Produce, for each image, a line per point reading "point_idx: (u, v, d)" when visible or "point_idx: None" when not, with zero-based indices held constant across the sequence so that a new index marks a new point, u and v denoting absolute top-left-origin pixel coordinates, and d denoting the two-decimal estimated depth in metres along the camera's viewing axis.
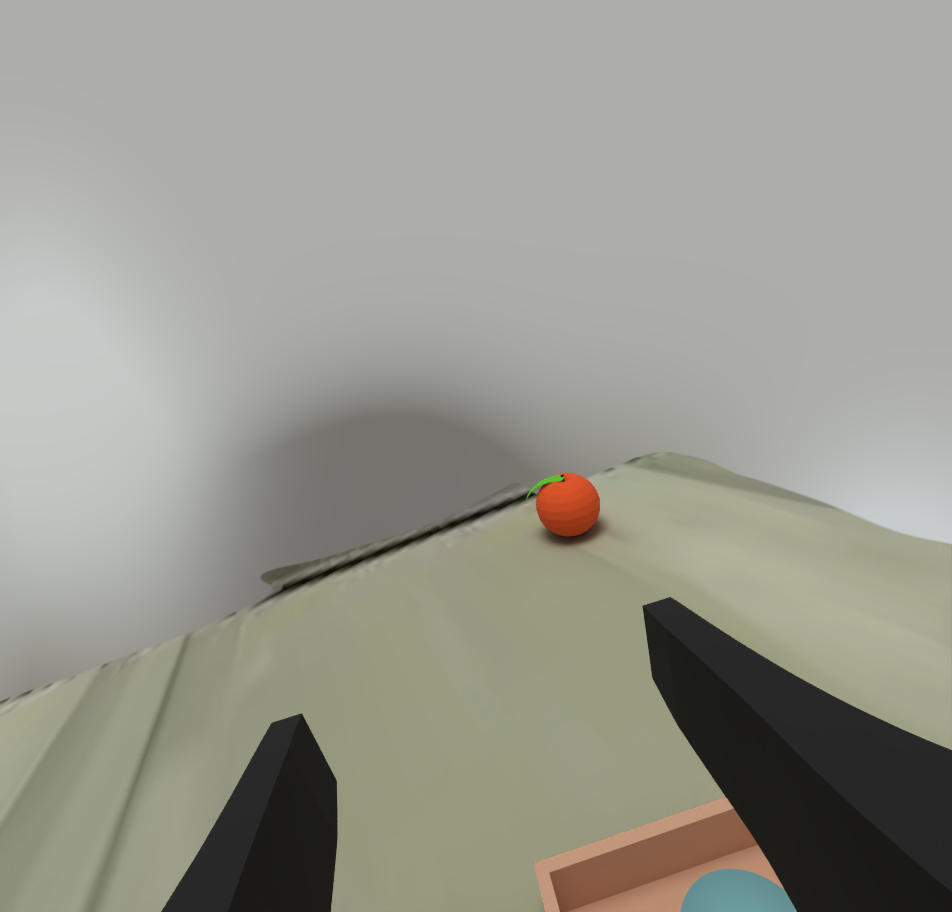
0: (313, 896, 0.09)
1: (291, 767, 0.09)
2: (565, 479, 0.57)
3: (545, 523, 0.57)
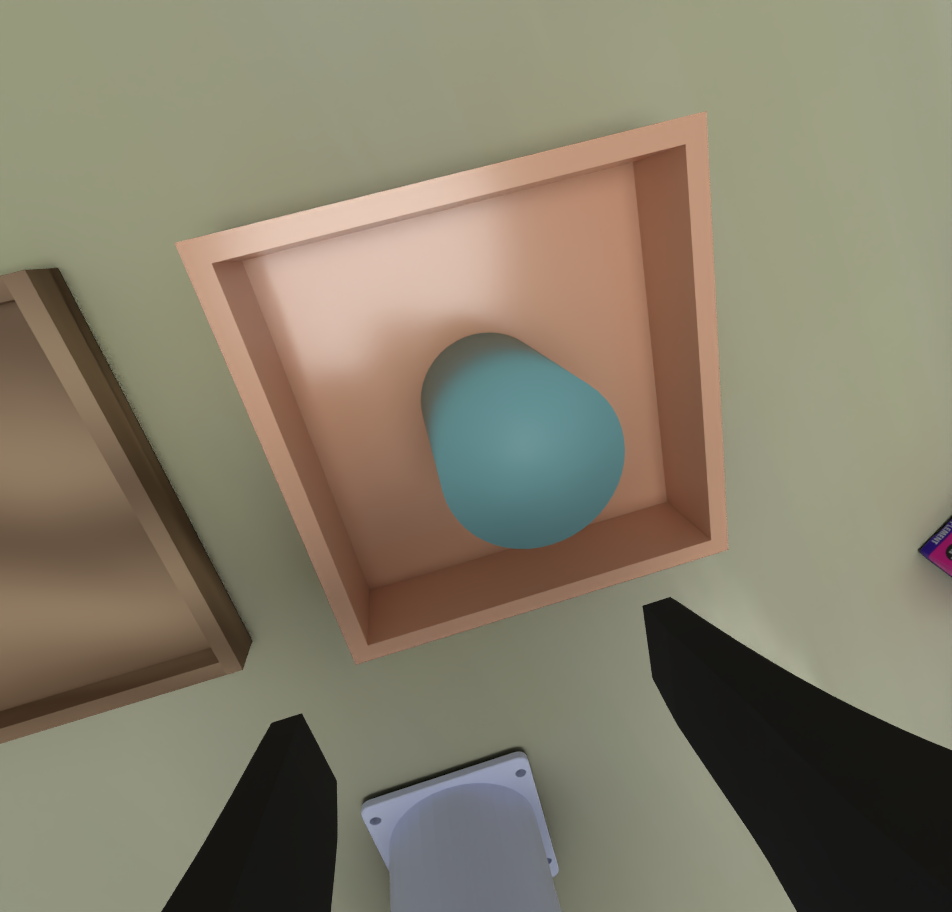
0: (313, 896, 0.09)
1: (291, 767, 0.09)
2: None
3: None
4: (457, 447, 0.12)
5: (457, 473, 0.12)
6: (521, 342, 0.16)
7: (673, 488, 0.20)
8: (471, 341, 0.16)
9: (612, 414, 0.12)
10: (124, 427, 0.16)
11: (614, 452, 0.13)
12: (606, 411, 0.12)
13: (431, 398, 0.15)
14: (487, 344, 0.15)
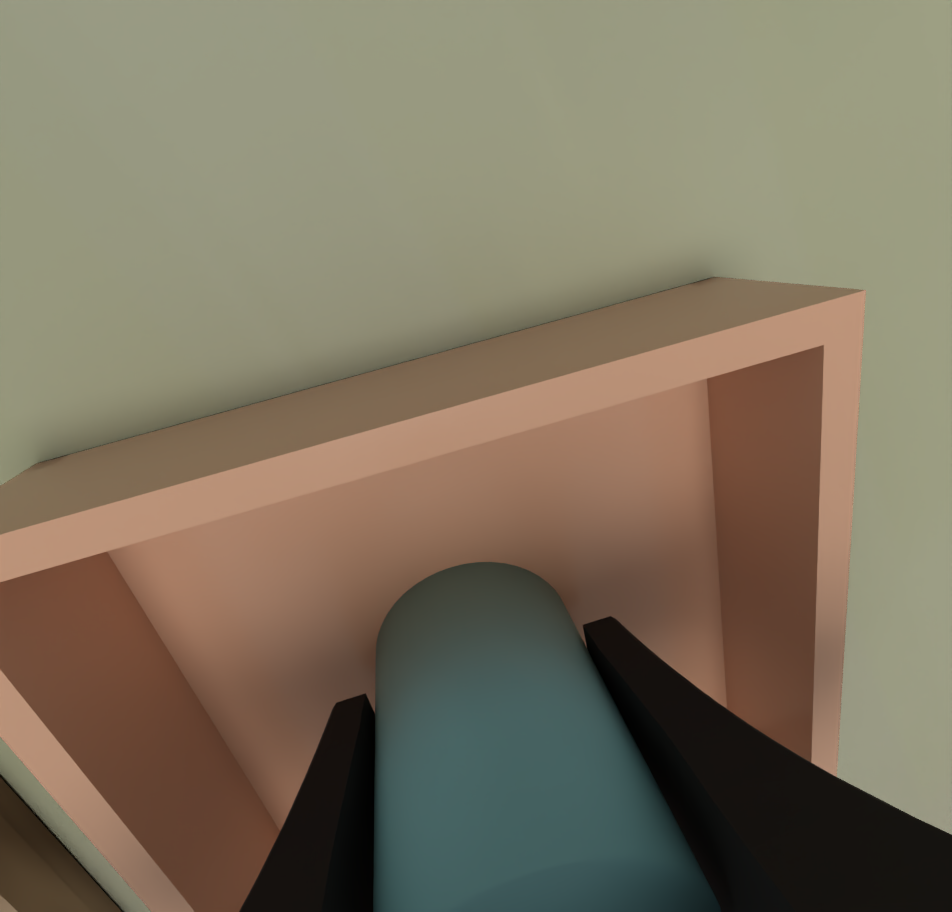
0: None
1: (363, 744, 0.09)
2: None
3: None
4: None
5: None
6: (527, 593, 0.11)
7: None
8: (448, 599, 0.10)
9: (704, 892, 0.06)
10: None
11: None
12: (694, 893, 0.06)
13: (380, 724, 0.09)
14: (472, 629, 0.09)
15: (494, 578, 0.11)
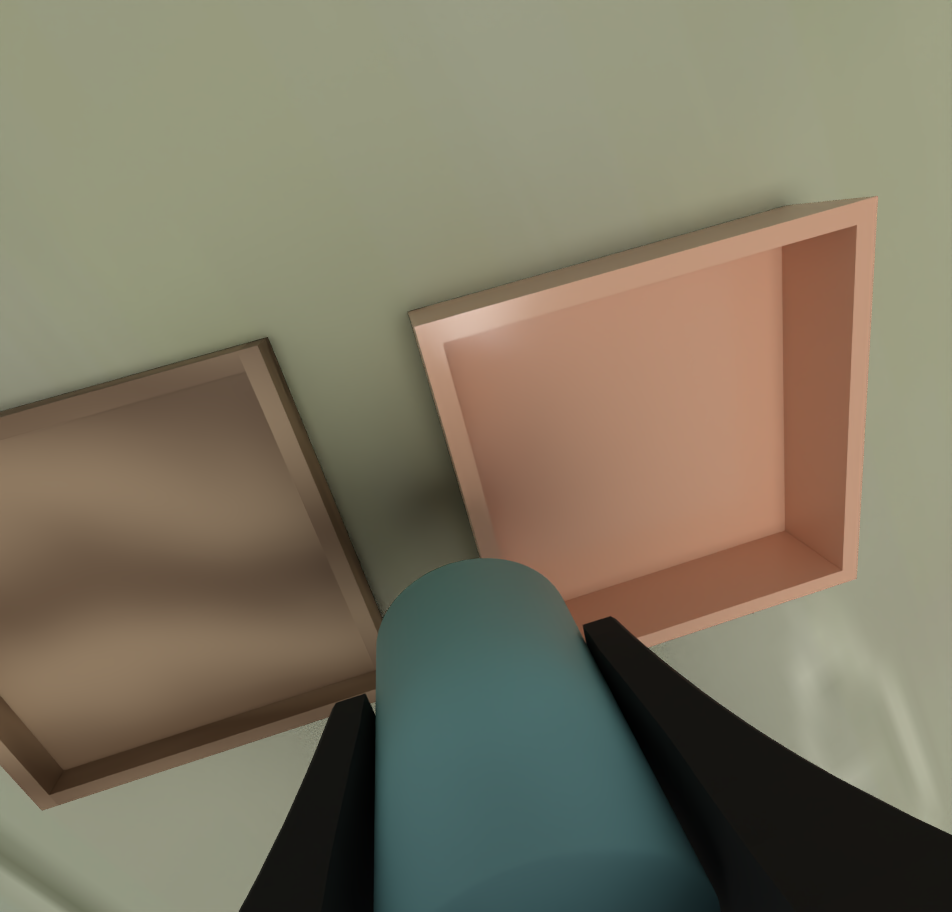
0: None
1: (362, 743, 0.09)
2: None
3: None
4: None
5: None
6: (526, 589, 0.11)
7: (795, 519, 0.21)
8: (448, 595, 0.10)
9: (702, 883, 0.06)
10: (318, 478, 0.17)
11: None
12: (692, 884, 0.06)
13: (380, 719, 0.09)
14: (472, 624, 0.09)
15: (494, 574, 0.11)
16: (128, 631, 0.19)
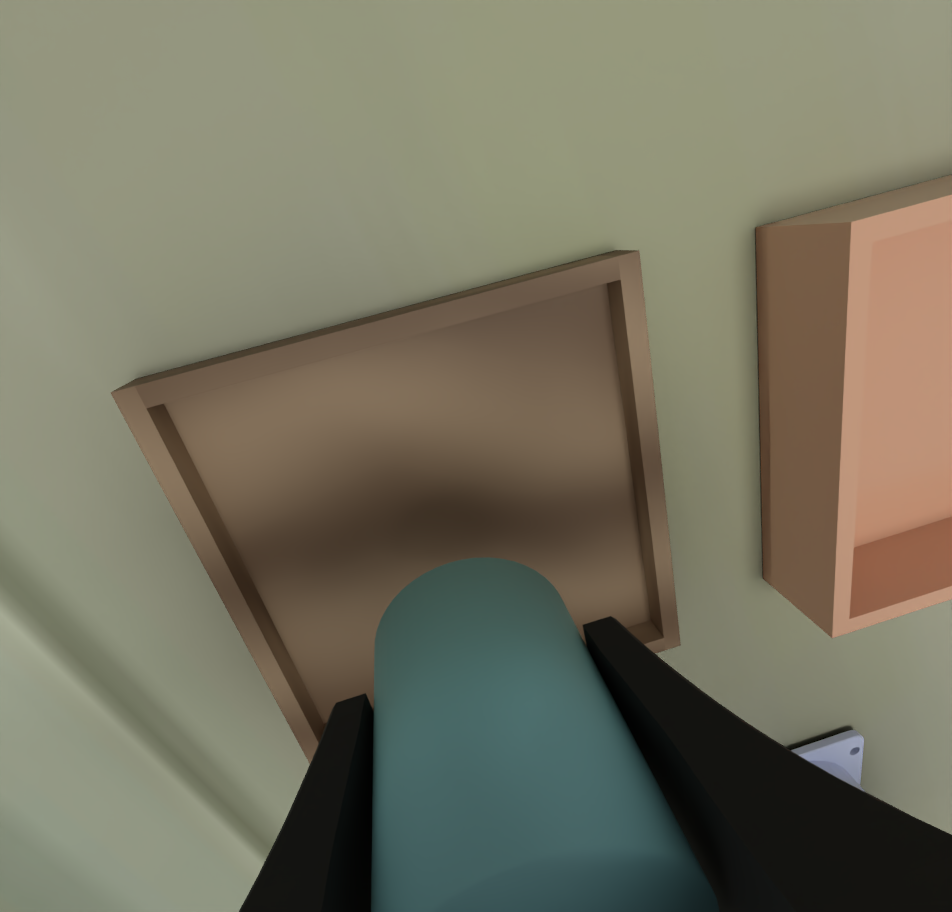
0: None
1: (363, 743, 0.09)
2: None
3: None
4: None
5: None
6: (525, 588, 0.11)
7: None
8: (446, 594, 0.10)
9: (700, 883, 0.06)
10: None
11: None
12: (690, 884, 0.06)
13: (378, 719, 0.09)
14: (470, 624, 0.09)
15: (492, 573, 0.11)
16: (419, 572, 0.18)
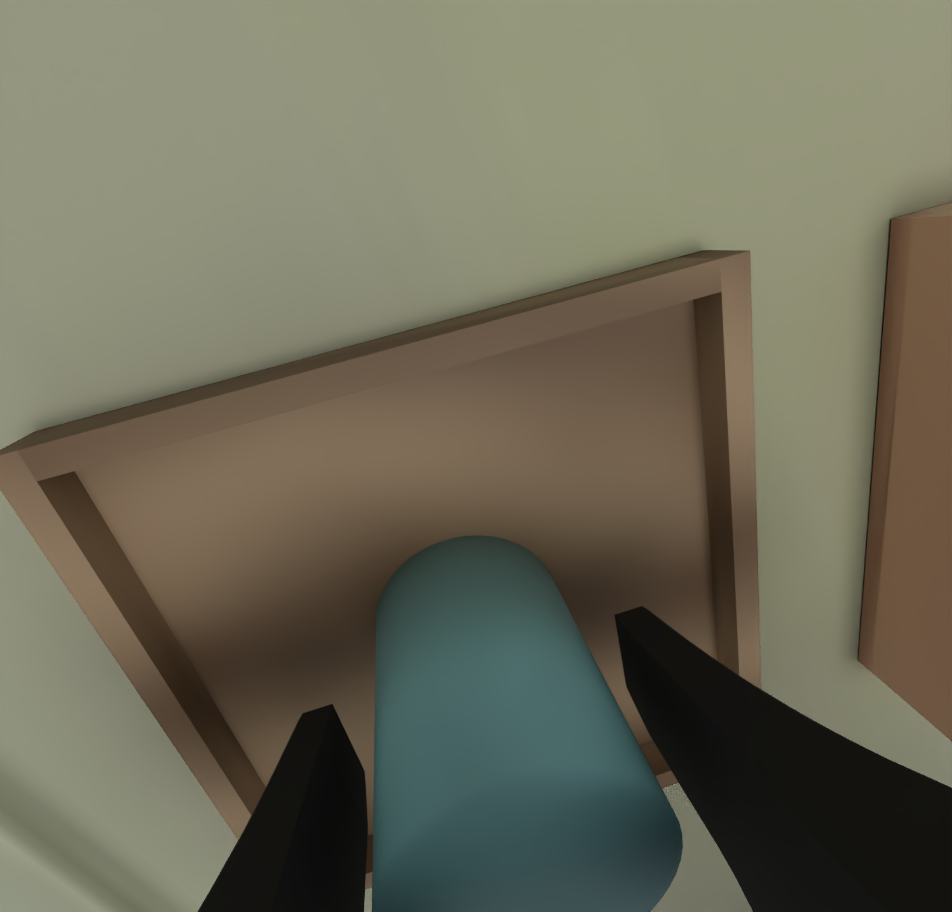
0: (348, 883, 0.09)
1: (325, 755, 0.09)
2: None
3: None
4: (401, 884, 0.07)
5: None
6: (515, 562, 0.11)
7: None
8: (442, 567, 0.11)
9: (664, 807, 0.07)
10: None
11: (665, 851, 0.08)
12: (654, 807, 0.07)
13: (379, 678, 0.10)
14: (463, 592, 0.10)
15: (485, 549, 0.12)
16: None
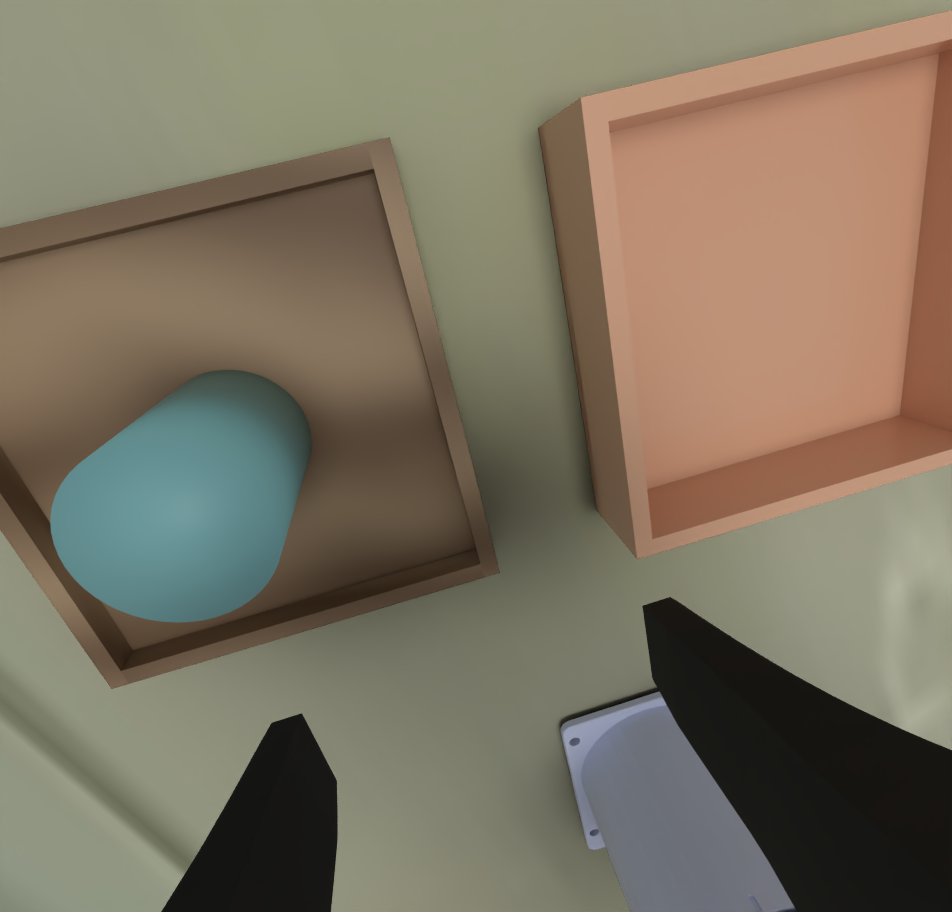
0: (313, 895, 0.09)
1: (290, 767, 0.09)
2: None
3: None
4: (69, 521, 0.11)
5: (77, 547, 0.11)
6: (249, 382, 0.15)
7: (917, 398, 0.20)
8: (189, 383, 0.15)
9: (252, 481, 0.11)
10: None
11: (266, 520, 0.12)
12: (243, 478, 0.11)
13: None
14: (189, 389, 0.14)
15: (230, 375, 0.15)
16: None
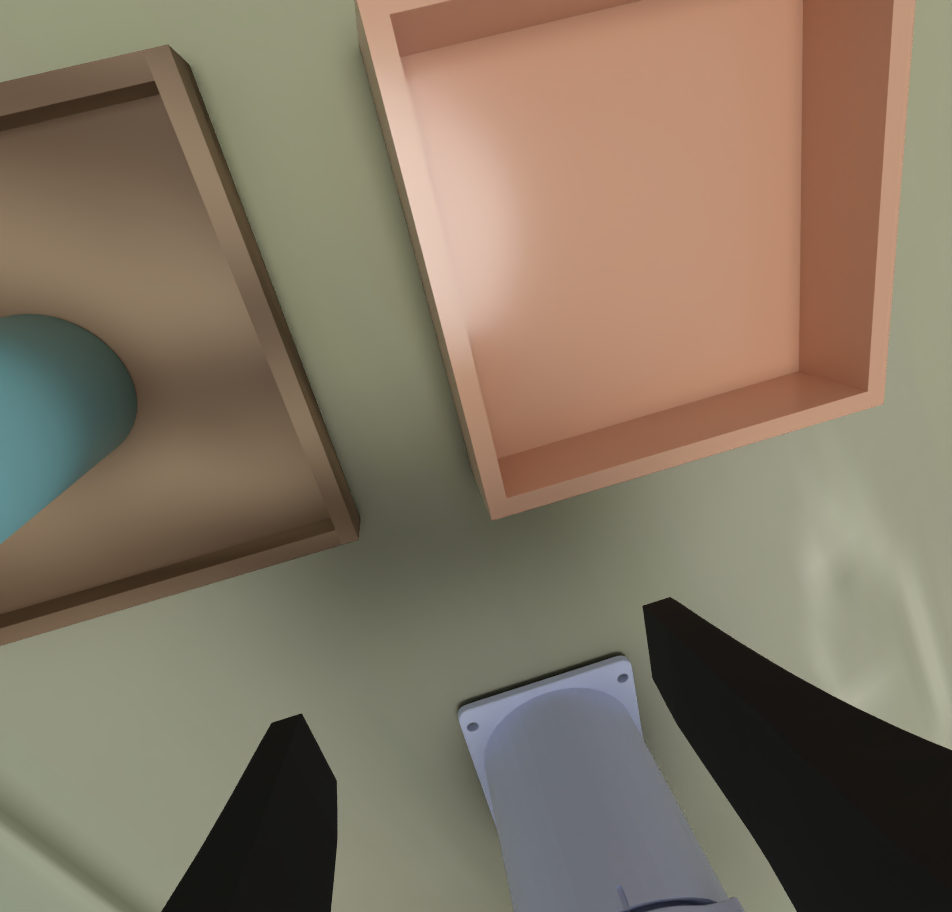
0: (313, 895, 0.09)
1: (292, 766, 0.09)
2: None
3: None
4: None
5: None
6: (39, 324, 0.14)
7: (812, 350, 0.19)
8: None
9: None
10: (253, 251, 0.15)
11: None
12: None
13: None
14: None
15: (21, 317, 0.14)
16: None
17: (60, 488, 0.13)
